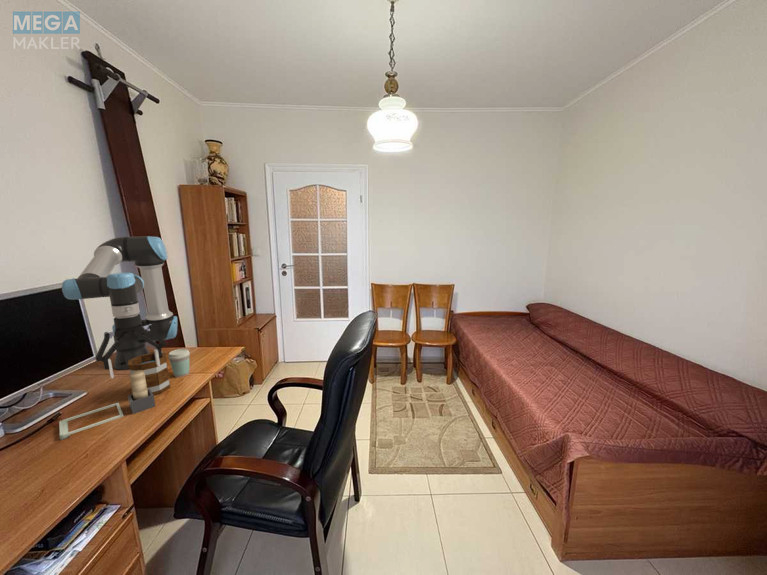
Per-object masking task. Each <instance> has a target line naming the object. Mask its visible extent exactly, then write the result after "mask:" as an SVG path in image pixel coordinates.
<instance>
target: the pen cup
mask: <svg viewBox="0 0 767 575" xmlns="http://www.w3.org/2000/svg"><path fill="white" fill-rule="evenodd" d="M147 391H148V396H147V397H144V398H141V399H137V400H134V398H133V393H131V394H129V395H127V398H128V403H129V404H128V405H129V408H130V410H131V411H130V412H131V413H132V415H134V414H137V413H141V412H143V411H147V410H149V409H151V408H155V407H156V402H155V400H156V399H155V396H154V395H153V393H152V392H151V390H150V389H148V390H147Z"/></svg>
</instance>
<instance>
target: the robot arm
mask: <svg viewBox="0 0 767 575" xmlns="http://www.w3.org/2000/svg"><path fill="white" fill-rule="evenodd" d="M167 260H168V252H167V248H166V246H165V243H164V241H163V240H162V238H161V237H158V236H150V235H149V236H147V235H146V236H120V237H114V238H111V239H109V240H107V241H104V242H103V243H101V244H100V245H99V246H97V247H96V249H94V252H93V258H92V259H91V260H90V261H89V263H88V264H87V265H86V267H85V268H84V269H83V271H82V272H81V273H80V275H79V276H77V278H70V279H69V278H68V279H67V278H66V279H65V280H63V281H62V285H61V291H62V295H63V297H64V298H66V299H67V300H79V301H80V300H87V299H88V300H89V299H98V298H108V297H109V300H110V307H111V312H112V317H114V318H113V323H114V324H113V325H112V331H111V332H108V331H105V332H104V333H103V340H102V342H101V345H100V346H99V348H98V351H97V353H96V355H95V358H94V359H95V361H96V362H103V367H104V370H105V371H107V370H109V376H110V378H111V379H114V378H115V376H114V369H115V370H119V371H120V370H121V371H123V370H125V371H126V370H130V369H129V366H128V361H129V360H131V359H133V358H135V357H137V356H140V355H145V354H150V351H149V349H148V347H147V346H146V343H148V344H150V345H151V346H153V347H154V348H153V351H154V352H153V353H155V359H156V364H157V366H160V361H159V357H160V356H162V352H163V351H162V348H163V347H165V346H167V343H166V341H167V340H171V339H175V338H176V336H177V335H178V326H179V325H178V321H179V320H178V316H176V315H174V313H173V312H172V311H171V310H169V305H168V299H167V292H166V286H165V280H164V274H163V268H162V267H163V266H164V264H165V261H167ZM125 262H126V263H127V262H130V263H131V262H134V265H135V267H137V268H138V269H139V271H140V276H139V275H138V274H134V273H132V272H115V273H114V272H113V270H114V268H115V267H116V266H117V265H119V264H120V263H125ZM112 272H113V273H112ZM142 291H144V297H145V303H146V308H147V313H148V314H147V315H146V316H145V319H143V318H142V317H141V314H140V313H141V310H140V306H139V300H138V294H139V293H140V292H142ZM112 338H113V341H114V342H113V344H112V345H111V346H110V347H109V349H108V350H107V352H106V353H105V351H106V349H107V346H108V344H109V343H110V339H112ZM157 342H159V343H157ZM115 352H116V353H115ZM104 353H105V354H104ZM114 353H115V356H114V357H115V358H114V361H113V364H112V360H111V357H112V356H113V355H114ZM113 367H114V369H113Z"/></svg>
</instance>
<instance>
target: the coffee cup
mask: <svg viewBox="0 0 767 575" xmlns="http://www.w3.org/2000/svg"><path fill="white" fill-rule="evenodd" d="M190 354H191V353H190V351H189V349H188V348H178V349H174V350H171V351H170V352H169V353H168V356H167V359H168V360H169V362H170V363H169V364H170V366H171V370H172V373H173V376H174V377H175V378H181V377H182V378H183V377H185V376H188V375H190Z"/></svg>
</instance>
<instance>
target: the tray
mask: <svg viewBox="0 0 767 575" xmlns="http://www.w3.org/2000/svg"><path fill="white" fill-rule="evenodd" d="M112 407H116V408H117V411H118V414H117V415H115V416H113V417H110V418H109V417H108V418H106V419H104V420H100V421H98V422H97V421H96V422H95V423H91V424H89V425H86V426H84V427H80V428H77V429H74V430H71V431H69V421H72V420H75V419H78V418H81V417H84V416H88V415H91V414H94V413H97V412H101V411H103V410H106V409H109V408H112ZM122 417H124V413H123V410H122V409H121V405H120V403H119V402H115V403H113V404H109V405H105V406H103V407H99V408H96V409H93V410H90V411H87V412H84V413H81V414H77V415H74V416H71V417H68V418H64V419H62V420H58V422H59V423H58V424H59V439H60V441H63V440H65V439H68V438H70V435H73V434H76V433H78V432H81V431H86V430H88V429H91V428H93V427H96V426H99V425H103V424H105V423H108V422H111V421H114V420H117V419H120V418H122Z"/></svg>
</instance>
